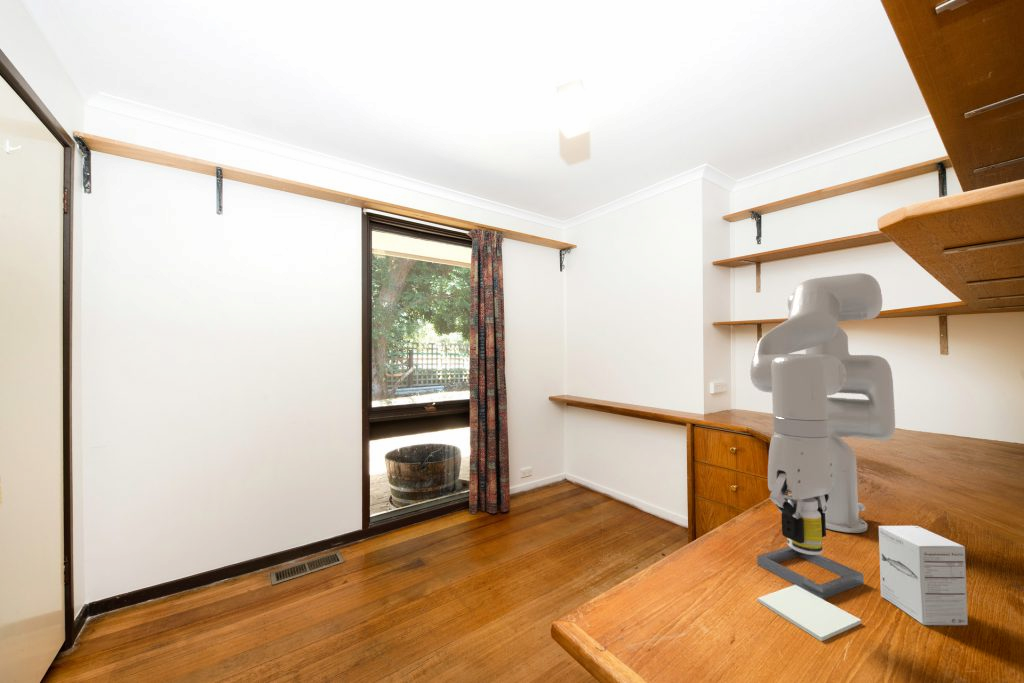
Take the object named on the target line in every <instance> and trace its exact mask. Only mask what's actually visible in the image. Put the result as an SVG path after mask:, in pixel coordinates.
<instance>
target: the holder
mask: <svg viewBox="0 0 1024 683" xmlns="http://www.w3.org/2000/svg"><path fill="white" fill-rule="evenodd" d="M756 556H757V562H756V564H757V565H758V566H759V567H762V568H764V570H767V571H769V572H770V573H772V574H775V575H776V576H778V577H780V578H782V579H783V580H785V581H788V582H790V583H791V584H793V585H797V586H799V587H801V588H802V589H804V590H806V591H808V592H810V593H812V594H814V595H816V596H817V597H819V598H821V599H823V600H826V599H829V598H831V597H834V596H836V595H839V594H841V593H844V592H846V590H847V591H849V590H852V589H855V588H857V587H859V586H861V585H864V584H865V581H864V580H865V579H864V578H865V577H864V573H862V572H860V571H857V570H855V569H854V568H850V567H848V566H846V565H843V564H841V563H839V562H837V561H835V560H833V559H830V558H828V557H827V556H826V557H825V556H823V555H821V554H818V555H810V554H805V553H801V552H798V551H796V550H794V549H792V548H791V547H790V546H789V545H788V546H785V547H783V548H778V549H775V550H772V551H769V552H768V551H767V552H765V553H761V554H759V555H756ZM797 557H799V558H802V559H804V560H806V561H809V562H810V563H812V564H815V565H817V566H818V567H820V568H823V569H825V570H827V571H829V572H832V573H833V574H836V575H838V576H839V577H838V578H834V579H831V580H829V581H827V582H826V581H825V582H823V583H821V584H819V583H817V582H816V581H814V580H812V579H809V578H808V577H805V576H803V575H802V574H800V573H798V572H796V571H794V570H792V569H790V568H788V567H785V566H784V565H783V564H780V562H784V561H787V560H790V559H793V558H797ZM842 576H843V577H842ZM843 591H844V592H843Z"/></svg>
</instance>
